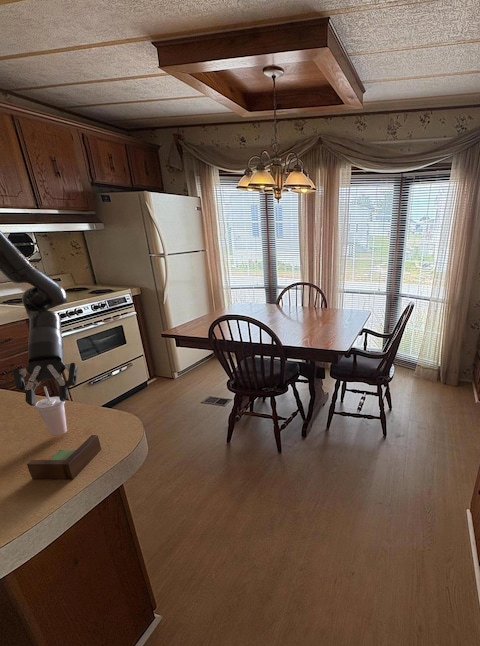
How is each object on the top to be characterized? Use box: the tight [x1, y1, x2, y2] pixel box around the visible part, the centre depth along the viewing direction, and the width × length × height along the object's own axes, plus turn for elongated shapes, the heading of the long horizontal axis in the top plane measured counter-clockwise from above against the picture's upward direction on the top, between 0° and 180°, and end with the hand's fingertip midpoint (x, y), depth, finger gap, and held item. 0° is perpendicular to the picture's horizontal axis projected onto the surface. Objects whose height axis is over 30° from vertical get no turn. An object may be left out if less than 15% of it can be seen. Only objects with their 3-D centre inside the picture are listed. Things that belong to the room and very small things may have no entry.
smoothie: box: [34, 385, 68, 437], centre depth 93 cm, size 6×6×14 cm
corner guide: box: [26, 434, 102, 481], centre depth 85 cm, size 10×12×4 cm
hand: (47, 402), depth 90 cm, fingers closed on smoothie, 6 cm apart
